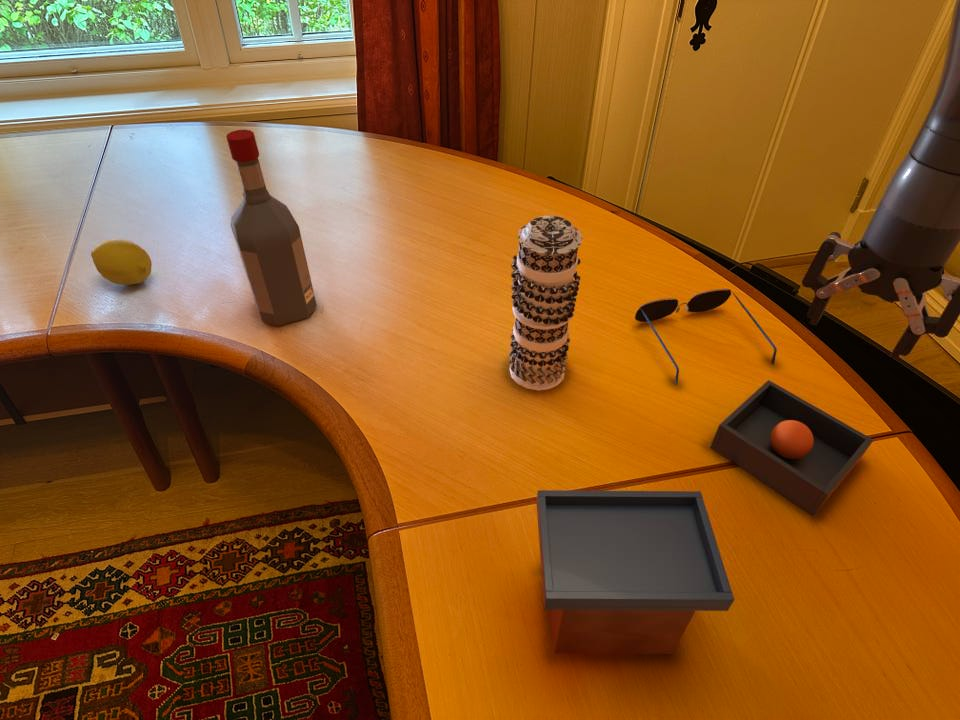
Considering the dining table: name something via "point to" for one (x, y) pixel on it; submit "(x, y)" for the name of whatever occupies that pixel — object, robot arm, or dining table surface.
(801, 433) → the ball
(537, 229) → the decorative candle
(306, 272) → the liquor
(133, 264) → the lemon
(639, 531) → the tray
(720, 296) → the sunglasses
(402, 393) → the dining table surface
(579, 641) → the stand
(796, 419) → the bin
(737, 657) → the dining table surface
